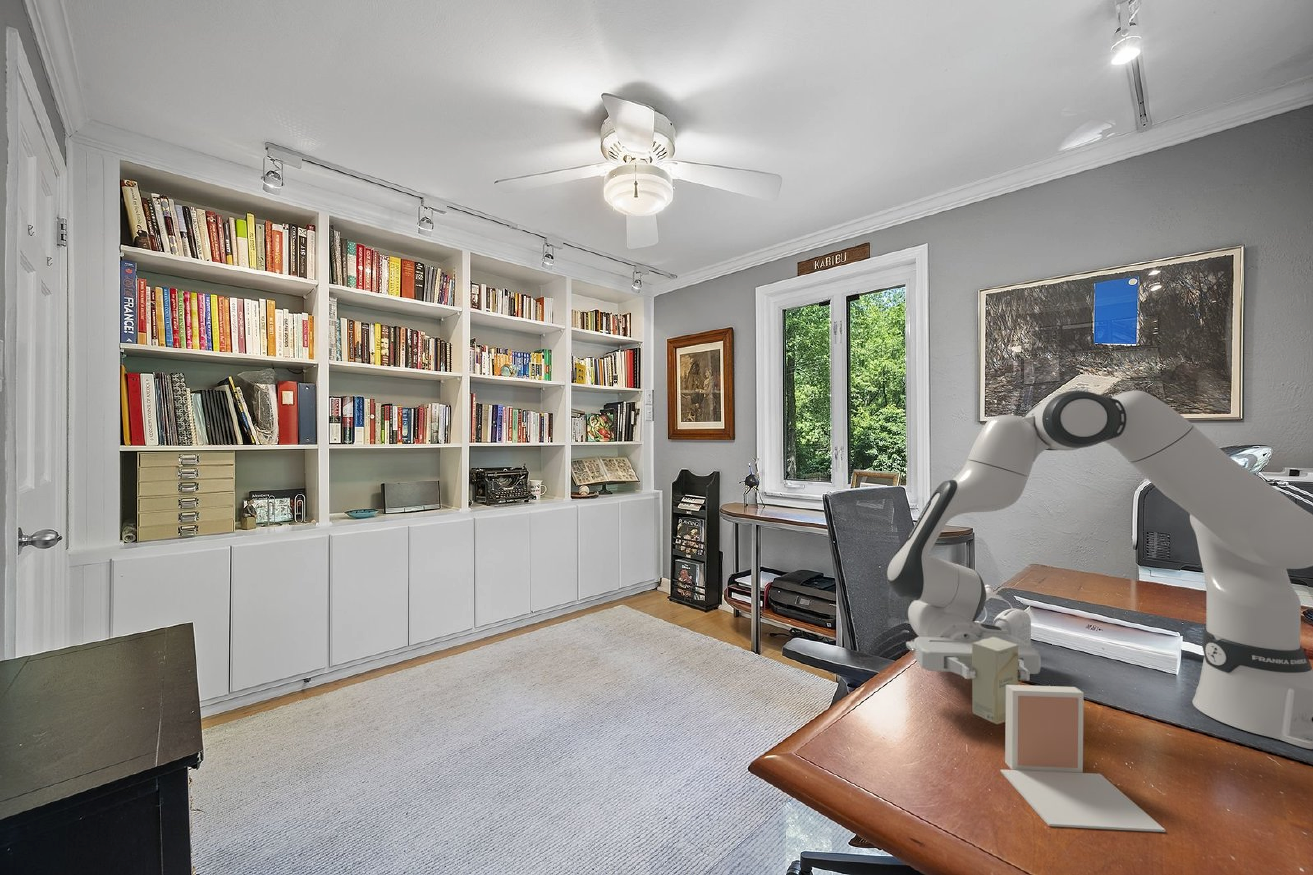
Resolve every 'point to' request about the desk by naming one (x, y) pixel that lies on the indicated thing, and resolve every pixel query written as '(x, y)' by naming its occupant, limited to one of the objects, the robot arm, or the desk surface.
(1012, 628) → the grey rounded block
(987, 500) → the robot arm
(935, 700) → the desk surface
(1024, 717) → the tile
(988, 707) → the skincare box
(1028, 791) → the mat
